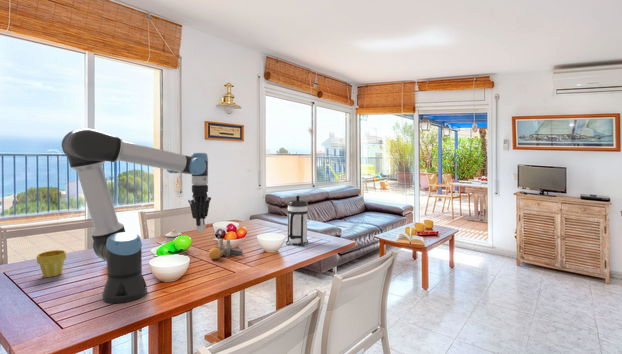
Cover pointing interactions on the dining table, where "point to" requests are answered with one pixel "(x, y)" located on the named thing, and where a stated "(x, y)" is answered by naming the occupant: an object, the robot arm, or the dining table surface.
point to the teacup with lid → (172, 236)
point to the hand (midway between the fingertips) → (200, 231)
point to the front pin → (223, 251)
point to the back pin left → (220, 244)
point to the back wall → (235, 251)
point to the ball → (214, 253)
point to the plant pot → (51, 262)
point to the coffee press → (297, 221)
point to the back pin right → (227, 248)
